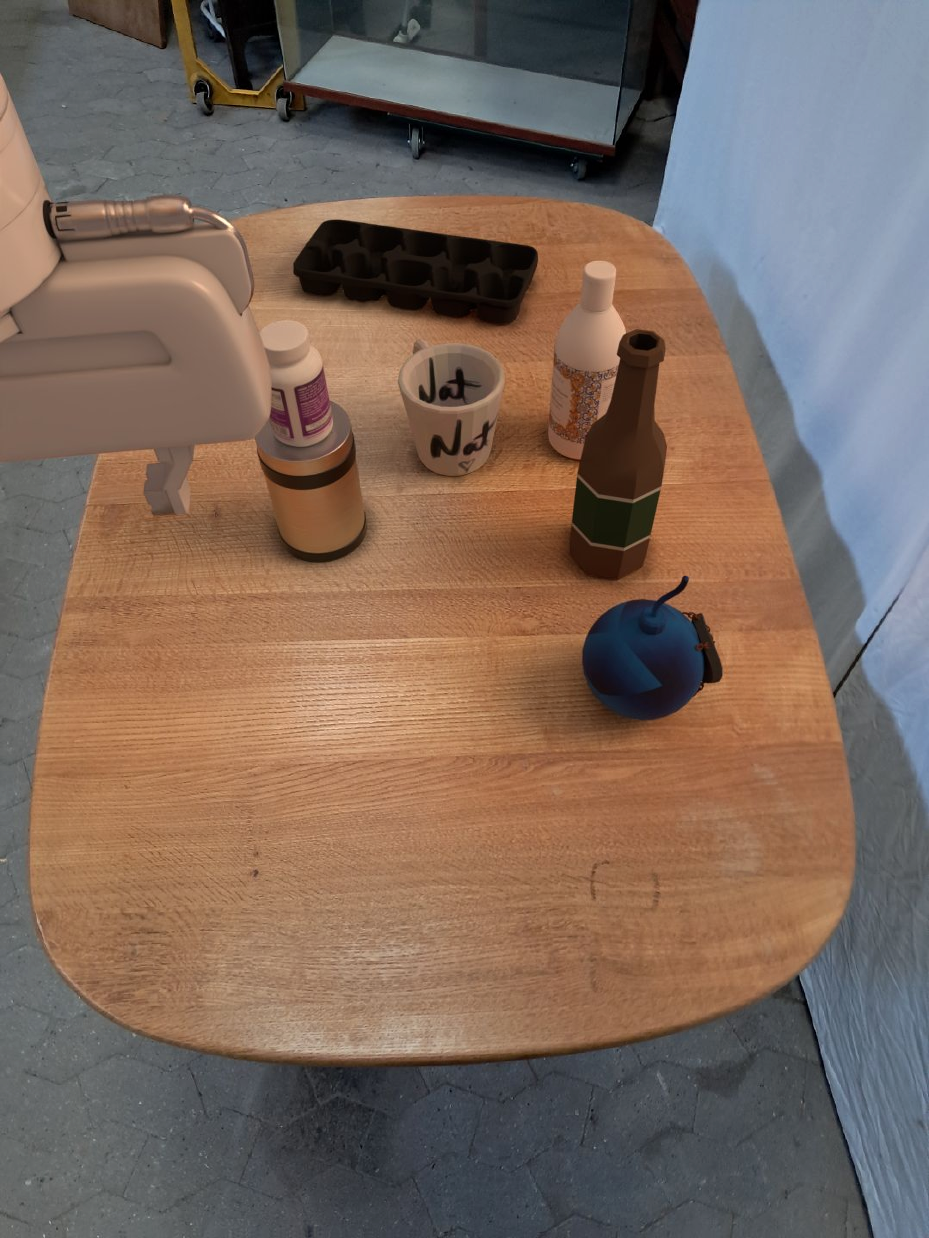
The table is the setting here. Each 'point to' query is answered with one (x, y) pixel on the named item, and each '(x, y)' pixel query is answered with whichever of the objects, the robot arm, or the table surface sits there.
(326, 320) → the table surface
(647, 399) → the beer bottle
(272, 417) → the pill bottle
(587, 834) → the table surface
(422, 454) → the mug
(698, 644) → the bomb
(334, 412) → the copper canister
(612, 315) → the bath foam
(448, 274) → the egg carton
